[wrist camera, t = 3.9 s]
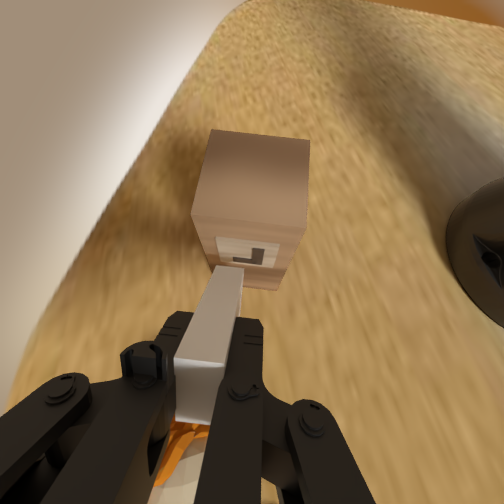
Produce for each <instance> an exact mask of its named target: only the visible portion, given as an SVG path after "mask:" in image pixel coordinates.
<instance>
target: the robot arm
mask: <svg viewBox="0 0 504 504" xmlns="http://www.w3.org/2000/svg"><path fill="white" fill-rule="evenodd" d="M446 241H447V250H448V254H449V258H450V261H451V264H452V267H453V269H454V271H455V273H456V275H457V277H458V279H459V281H460V282H461V284H462V286H463V287H464V289H465V290H466V291H467V293H468V294H469V295H470V297H471V298H472V299H473V300H474V301H475V303H476V304H477V305H478V306H479V307H480V308H481V309H482V310H483V311H484V312H485V313H486V314H487V315H488V316H489V317H491V318H492V319H493V320H494V321H496V322H497V323H498V324H499V325H501V326H502V327H504V178H501V179H498V180H495V181H493V182H491V183H489V184H487V185H485V186H484V187H482V188H480V189H479V190H478V191H476V192H475V193H473V194H472V195H471V196H469V197H468V198H466V199H465V200H464V201H462V202H461V203H460V204H459V205H458V206H457V207H456V209H455V210H454V211H453V213H452V215H451V217H450V219H449V223H448V226H447V233H446ZM243 276H244V268H237V267H228V266H219V265H216V267H215V269H214V271H213V274H212V276H211V278H210V280H209V282H208V284H207V287H206V289H205V291H204V293H203V295H202V297H201V300H200V302H199V304H198V306H197V308H196V310H195V313H192V312H183V311H177V312H175V313H174V314H172V315H171V316H170V317H168V319H167V320H166V322H165V324H164V325H163V328H162V329H161V330H160V332H159V335H157V337H156V339H155V340H154V341H142V342H138V343H135V344H133V345H131V346H129V347H127V348H126V349H125V350H124V351H123V352H122V353H121V354H120V359H121V367H122V375H123V376H122V377H121V378H119V379H115V380H111V381H105V382H98V383H92V384H90V383H89V379H88V377H86V376H85V375H84V374H81V373H75V372H74V373H67V374H63V375H60V376H57V377H55V378H52V379H51V380H49V381H48V382H46V383H44V384H43V385H41V386H40V387H39V388H38V389H36V390H35V391H34V392H32V393H31V394H30V395H29V396H27V397H26V398H25V399H23V400H22V401H21V402H19V403H18V404H17V405H16V406H14V407H13V408H12V409H10V410H9V411H8V412H7V413H5V414H4V415H3V416H1V417H0V504H147V503H148V500H149V497H150V494H151V491H152V489H153V486H154V483H155V480H156V477H157V474H158V471H159V468H160V465H161V462H162V459H163V456H164V453H165V451H166V448H167V445H168V442H169V438H170V424H171V421H172V419H173V416H174V413H175V421H180V422H188V423H196V424H204V425H210V429H209V433H208V438H207V443H206V447H205V452H204V457H203V461H202V466H201V471H200V475H199V480H198V484H197V489H196V494H195V498H194V503H193V504H261V477H262V478H264V479H266V480H267V481H269V482H271V483H273V484H274V485H276V490H277V494H278V499H279V504H376V503H375V501H374V499H373V497H372V495H371V493H370V491H369V488H368V486H367V484H366V482H365V480H364V478H363V476H362V474H361V472H360V470H359V468H358V466H357V464H356V462H355V459H354V457H353V455H352V453H351V451H350V449H349V447H348V445H347V443H346V441H345V439H344V437H343V435H342V433H341V431H340V428H339V426H338V424H337V422H336V420H335V418H334V417H333V416H332V414H331V413H330V411H329V410H328V409H327V408H325V407H324V406H323V405H322V404H320V403H318V402H315V401H313V400H306V399H302V400H299V401H296V402H295V403H294V404H293V405H290V404H288V403H285V402H283V401H281V400H279V399H277V398H276V397H274V396H273V395H272V394H270V393H269V392H268V390H267V389H266V387H265V386H264V383H263V379H262V363H263V326H262V324H261V322H260V321H259V319H251V318H242V317H239V316H240V309H241V298H242V287H243Z"/></svg>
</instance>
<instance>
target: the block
mask: <svg viewBox="0 0 504 504" xmlns="http://www.w3.org/2000/svg"><path fill="white" fill-rule="evenodd" d="M309 157H310V140H304V139H295V138H285V137H276V136H267V135H258V134H249V133H240V132H231V131H222V130H213V129H211V133H210V137H209V141H208V145H207V149H206V153H205V157H204V161H203V165H202V169H201V173H200V177H199V181H198V185H197V189H196V193H195V197H194V202H193V206H192V210H191V214H190V215H191V217H192V220H193V223H194V225H195V228H196V231H197V233H198V236H199V239H200V241H201V244H202V246H203V249H204V252H205V254H206V257H207V260H208V262H209V265H210V268H211V270H212V273H213V271H214V269H215V267H216V265H219V266H228V267H237V268H244V276H243V287H248V288H256V289H264V290H272V291H277V289H278V287H279V285H280V283H281V281H282V279H283V276H284V274H285V272H286V270H287V268H288V266H289V264H290V262H291V260H292V258H293V256H294V253H295V251H296V249H297V247H298V245H299V243H300V241H301V239H302V237H303V235H304V232H305V230H306V228H307V206H308V181H309Z"/></svg>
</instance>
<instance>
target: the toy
mask: <svg viewBox="0 0 504 504" xmlns="http://www.w3.org/2000/svg"><path fill="white" fill-rule="evenodd" d="M209 429H210V425H204V424H196V423H188V422H180V421H175V416H173V419H172V421H171V424H170V438H169V442H168V445H167V448H166V451H165V453H164V456H163V459H162V462H161V465H160V468H159V471H158V474H157V477H156V480H155V483H154V486H153V489H152V491H151V494H150V497H149V500H148V503H147V504H193V503H194V498H195V494H196V489H197V484H198V480H199V475H200V471H201V466H202V461H203V457H204V452H205V447H206V443H207V438H208V433H209Z"/></svg>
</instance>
